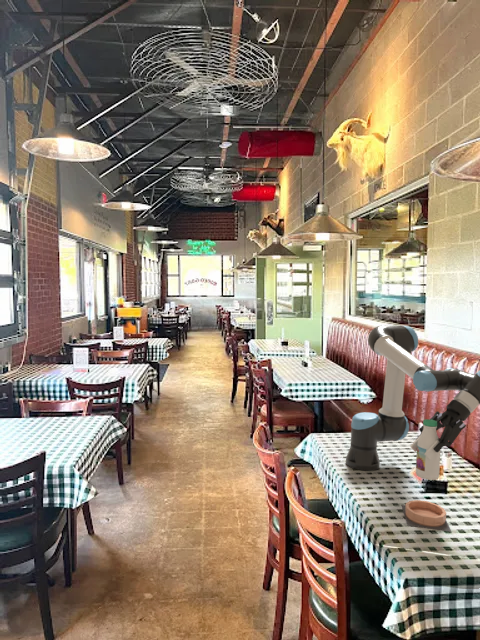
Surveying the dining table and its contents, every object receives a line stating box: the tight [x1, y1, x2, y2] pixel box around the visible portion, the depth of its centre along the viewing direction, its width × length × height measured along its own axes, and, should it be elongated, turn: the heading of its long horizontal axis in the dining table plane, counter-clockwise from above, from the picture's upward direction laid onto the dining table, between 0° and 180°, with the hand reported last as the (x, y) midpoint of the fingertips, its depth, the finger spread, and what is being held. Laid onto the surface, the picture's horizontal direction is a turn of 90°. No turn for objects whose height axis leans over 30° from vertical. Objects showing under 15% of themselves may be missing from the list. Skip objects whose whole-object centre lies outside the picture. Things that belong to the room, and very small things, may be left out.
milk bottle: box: [415, 418, 441, 481], centre depth 163 cm, size 8×8×20 cm
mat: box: [400, 504, 453, 532], centre depth 163 cm, size 14×16×1 cm
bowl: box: [404, 499, 447, 527], centre depth 163 cm, size 13×13×3 cm
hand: (419, 452), depth 163 cm, fingers closed on milk bottle, 7 cm apart
